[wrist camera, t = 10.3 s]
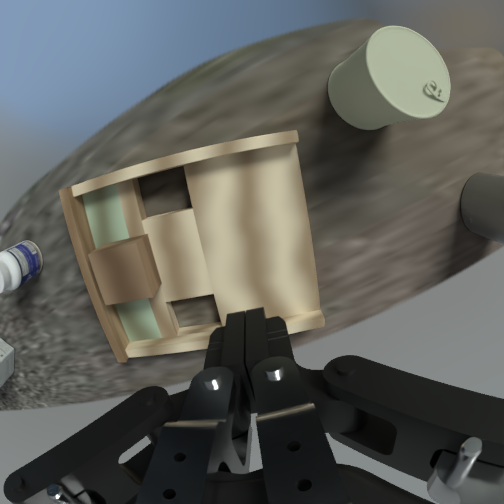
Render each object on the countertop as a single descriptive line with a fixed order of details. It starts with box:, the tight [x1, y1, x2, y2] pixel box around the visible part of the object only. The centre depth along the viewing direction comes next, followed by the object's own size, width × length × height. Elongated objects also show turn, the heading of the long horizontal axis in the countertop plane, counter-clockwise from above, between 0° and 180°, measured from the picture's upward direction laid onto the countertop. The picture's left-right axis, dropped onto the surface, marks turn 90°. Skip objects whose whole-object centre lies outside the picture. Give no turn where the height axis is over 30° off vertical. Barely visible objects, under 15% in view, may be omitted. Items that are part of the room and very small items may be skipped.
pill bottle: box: [0, 241, 43, 293], centre depth 30 cm, size 5×5×9 cm
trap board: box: [59, 130, 325, 363], centre depth 32 cm, size 26×22×5 cm
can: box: [328, 26, 450, 130], centre depth 25 cm, size 9×9×12 cm
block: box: [88, 234, 162, 305], centre depth 31 cm, size 6×6×4 cm
